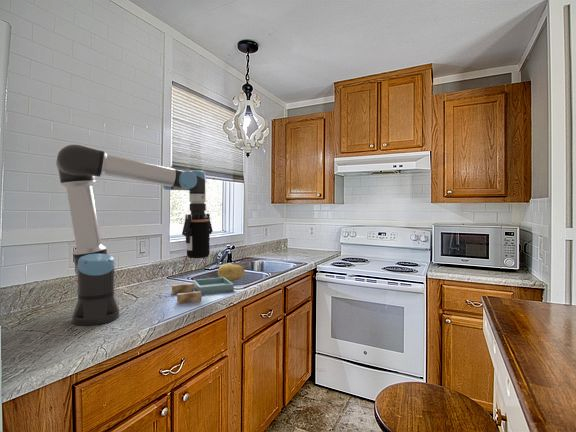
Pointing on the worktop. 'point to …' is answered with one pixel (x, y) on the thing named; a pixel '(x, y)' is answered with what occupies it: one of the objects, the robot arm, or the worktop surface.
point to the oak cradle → (186, 293)
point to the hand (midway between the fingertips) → (198, 248)
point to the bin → (213, 285)
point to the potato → (231, 271)
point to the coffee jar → (199, 239)
